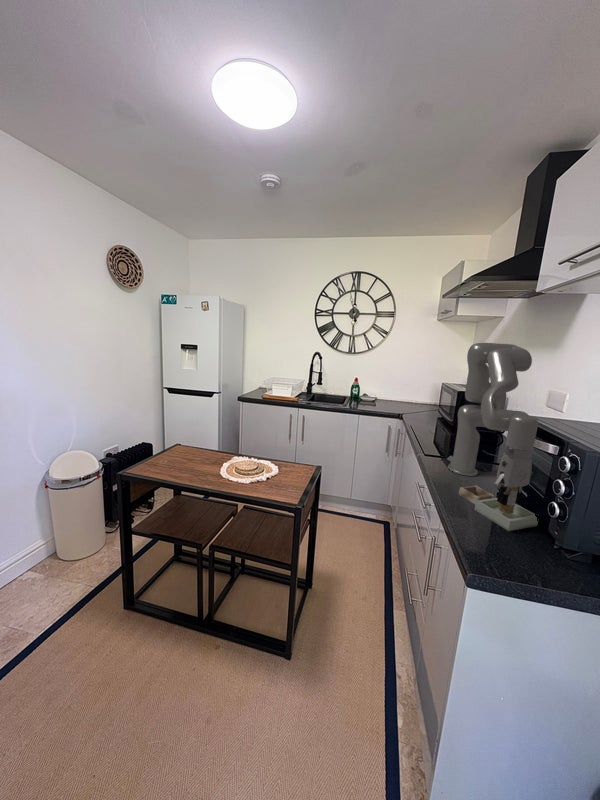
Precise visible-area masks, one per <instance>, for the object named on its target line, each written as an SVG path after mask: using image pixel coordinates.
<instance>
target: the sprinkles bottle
mask: <svg viewBox="0 0 600 800" xmlns="http://www.w3.org/2000/svg"><path fill="white" fill-rule="evenodd" d="M503 487H504V489H505V488H506V486H504V485H503ZM517 493H518V487H513V488H510V489H509V491H508V495H509V496H508V501H507V505H503V504H501V503H499V507H498V509H499V510H500V511H501V512H503V513H507V514H512V513H513V510H514V505H515V502H516V497H517Z"/></svg>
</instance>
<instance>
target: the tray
mask: <svg viewBox="0 0 600 800" xmlns="http://www.w3.org/2000/svg"><path fill="white" fill-rule="evenodd" d="M497 498H498V497H494V498H492V499H485V500H478V501H476V504H474V511H475V512H478V513H479V514H480V515H482V516H484V517H485V518H486V519H488V520H490V521H491V522H493V523H494V524H497V526H500V527H501V528H503V529H504V530H506V532H507V531H508V532H512V531H516V530H517V531H518V530H522V529H527V528H533V527H537V526H538V522H539V520H538V521H537V517H536V516H535V514H536V513H534V512H532V511H530V510H528V509H526V508H524V507H522V506H521V505H519V504H515V505H514V510H513V513H512V514H507V513H503V512H501V511H500V510H499V509H498V507H499V502H498V501H497Z"/></svg>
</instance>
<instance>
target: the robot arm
mask: <svg viewBox="0 0 600 800" xmlns="http://www.w3.org/2000/svg"><path fill="white" fill-rule="evenodd" d="M466 356H467V357H466V361H467V369H468V373H467V378H466V379H467V380H466V385H465V390H464V391H465V392H464V398H465V400H466V401H468V402H470V403H476V405H475V404H464V405H462V406H460V407H459V409H458V411H457V431H456V435H455V436H456V437H455V443H454V450H453V455H449V456H448V457H447V458H446V460H448V461H449V462H450V463H449V464H448V465H447V469H448V468H449V469H450V471H451V472H452V471H453V472H452V473H454V474H457V475H461V476H465V477H466V476H467V477H475V476H477V475H478V473H479V472H478V470H477V468H475V467H476V463H477V458H478V457H477V456H478V452H479V445H480V439H481V435H480V433H479V431H478V430H477V427H481V428H486V429H487V430H491V431H492V430H493V431H499V432H500V431H501V432H502V431H503V432H507V433H506V438H505V444H504V450H503V455H502V457H501V458H500V462H499V466H498V468H497V473H496V480H495V482H494V483H493V486H494V487H496V489H497V491H498V493H497V497H496V498H497V501H498V502H499V503H501V504H503V505H507V501H508V496H509V495H508V491H509V489H510V488H513V487H518V493H517V497H516V502H515V504H517V505H519V500H520V496H521V493H522V490H523V488H525V486H528V485H530V481H531V475H532V467H533V460H532V459H533V458H532V454H533V450H534V446H535V441H536V436H537V431H538V427H539V420H538V419H537V418H535V417H534V416H530V415H529V414H528V413H526V412H525V411H520V410H511V409H504V408H505V406H506V405H505V404H506V401H507V400H506V399H507V393H509V392H511V391H513V390H515V389H516V388H518V386H519V379H518V374H517V372H519V373H520V372H527V371H528V370H529V369H530V368H531V366H532V362H533V358H532V354H531V353H530V352H529V350H527V349H526V348H523V347H521V346H518V345H515V344H511V343H495V342H476V343H474V344H472V345H470V347H469V348H468V351H467V354H466ZM477 404H480V405H477ZM449 469H448V470H449ZM503 485H504V486H506V488H505V489H504V487H503Z"/></svg>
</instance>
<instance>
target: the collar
mask: <svg viewBox="0 0 600 800" xmlns="http://www.w3.org/2000/svg"><path fill="white" fill-rule="evenodd" d="M458 495H459V496H460V497H462V498H463V499H465V500H467V501H468V502H470V503H472V504H473V505H475V504H476V501H478V500H485V499H492V498H495V495H494V494H492V493H490V492H489V491H487V490H485V489H483V488H481V487H480V486H478V485H470V486H461V487H459V490H458Z"/></svg>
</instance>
